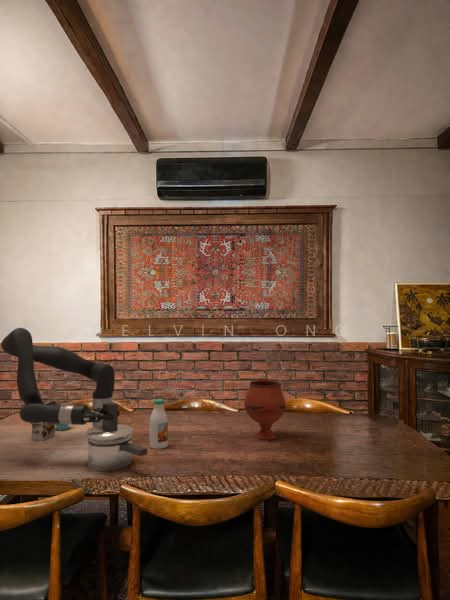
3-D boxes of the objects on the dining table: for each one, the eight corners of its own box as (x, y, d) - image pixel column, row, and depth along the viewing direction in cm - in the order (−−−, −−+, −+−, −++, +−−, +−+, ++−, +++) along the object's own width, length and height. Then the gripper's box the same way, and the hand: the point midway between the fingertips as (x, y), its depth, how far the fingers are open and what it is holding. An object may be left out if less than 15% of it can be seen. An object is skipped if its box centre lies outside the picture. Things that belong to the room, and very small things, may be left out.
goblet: (256, 429, 206) (255, 378, 207) (292, 434, 196) (292, 380, 197) (237, 439, 190) (236, 383, 190) (276, 446, 180) (275, 387, 180)
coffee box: (43, 440, 190) (44, 404, 191) (31, 439, 191) (31, 404, 192) (55, 434, 199) (56, 400, 200) (43, 434, 200) (43, 400, 201)
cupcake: (49, 430, 206) (49, 406, 206) (60, 426, 214) (60, 402, 215) (65, 431, 204) (65, 406, 204) (75, 427, 212) (75, 403, 213)
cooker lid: (114, 425, 173) (114, 397, 173) (141, 433, 162) (142, 403, 163) (77, 435, 160) (77, 404, 160) (104, 443, 149) (105, 411, 149)
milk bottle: (150, 450, 176) (150, 402, 176) (149, 444, 183) (148, 398, 184) (169, 448, 178) (168, 400, 178) (166, 443, 185) (166, 397, 186)
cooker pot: (114, 453, 172) (114, 428, 173) (161, 468, 155) (161, 440, 155) (78, 464, 159) (79, 438, 160) (125, 482, 142) (125, 452, 143)
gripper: (65, 408, 155) (110, 409, 154) (81, 400, 170) (122, 401, 168) (65, 429, 155) (110, 430, 154) (81, 419, 169) (122, 420, 168)
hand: (116, 415), depth 161 cm, fingers closed on cooker lid, 5 cm apart
